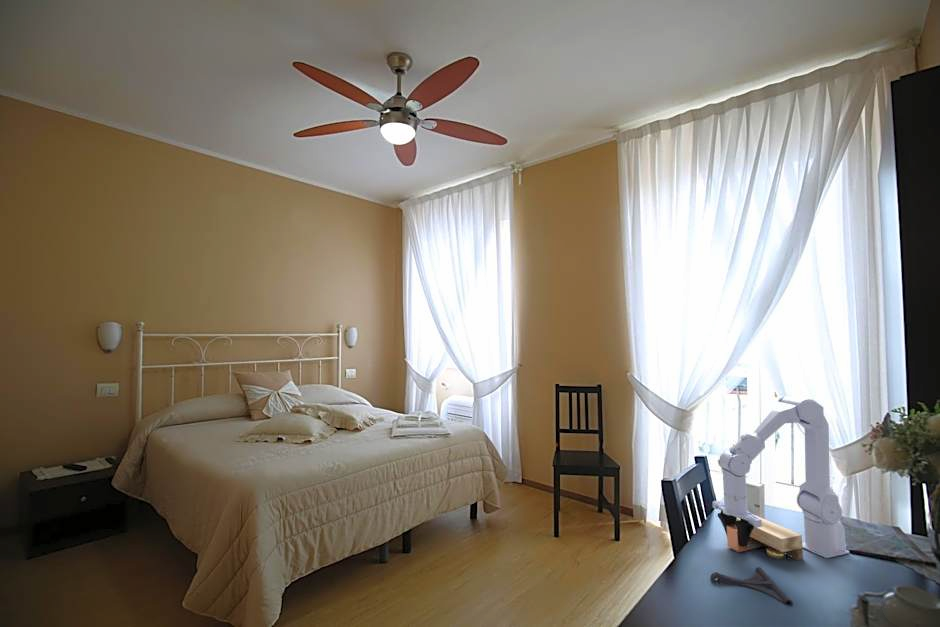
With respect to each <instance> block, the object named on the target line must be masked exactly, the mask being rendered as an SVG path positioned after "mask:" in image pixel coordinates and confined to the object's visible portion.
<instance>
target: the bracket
mask: <svg viewBox="0 0 940 627" xmlns="http://www.w3.org/2000/svg"><path fill="white" fill-rule="evenodd" d="M710 580H711V582H712V584H720V583H721V584H723V585H735V586H741V587H746V588H750V589H753V590H757V591H759V592H762V593H764V594H766V595H769V596H770V597H771V598H774V599H776V600H777V601H779V602H780V603H782V604H783V603H784V604H785V605H787V602H788V603H789V604H790V605H792V606H793V605H794V602H793V601H792V599H790V597H789V596H788V595H787V594H786V593H785V592H784V591H783V590H782V589H781V588H780V587H779V585H777V584H776V583H775V582H774V580H773V579H772V578H771V577H770V576H769V575H768V573H766V572H765V571H764V570H763V568H761V567H760V566H757V567H755V570H754V573H753V575H752V576H751V577H749V578H745V579H742V578H740V579H739V578H737V577H736V578H735V577H731V576H728V575H724V574H722V573H719V572H717V571H715V572H712V573H711V574H710Z"/></svg>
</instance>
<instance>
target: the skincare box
mask: <svg viewBox="0 0 940 627" xmlns="http://www.w3.org/2000/svg"><path fill="white" fill-rule="evenodd" d="M746 495H747V511H748V512H750V513H751V514H753V515H756V516H758V517H761V518H763V519H765V520H766V513H765V510H766V509H765V508H766V506H765V502H766V500H765V483H761V482H757V481H754V480H749V479H746Z"/></svg>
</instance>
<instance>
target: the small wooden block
mask: <svg viewBox="0 0 940 627" xmlns="http://www.w3.org/2000/svg"><path fill="white" fill-rule="evenodd" d="M726 538H727V539H726V540H727V541H726V542H727V548H730V549H732V550H733V551H736V552H737V553H741V552H746V551H748V550H753V549H758V548H759V549H760V548H762V547H769V546H768V545H766V544H764V543H762V542H760V541H758V540H756V539H753V538H752V539H749V541H748V545H747V546H744V547H742V546H740V544H739V536H738V531H737V527H736V525H735V524H732V525H727V535H726Z"/></svg>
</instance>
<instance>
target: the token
mask: <svg viewBox="0 0 940 627" xmlns="http://www.w3.org/2000/svg"><path fill="white" fill-rule="evenodd" d="M765 550H766V551H765V552H766V555H767V556H768V557H770V558H773V559H776V558H778V559H777V560H782V559H781V558H784V559H786V554H785V552H781V551H779V550H777V549H775V548H773V547H771V546H765Z"/></svg>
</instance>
